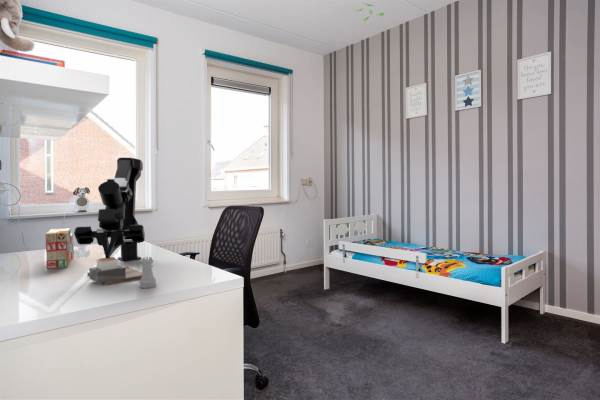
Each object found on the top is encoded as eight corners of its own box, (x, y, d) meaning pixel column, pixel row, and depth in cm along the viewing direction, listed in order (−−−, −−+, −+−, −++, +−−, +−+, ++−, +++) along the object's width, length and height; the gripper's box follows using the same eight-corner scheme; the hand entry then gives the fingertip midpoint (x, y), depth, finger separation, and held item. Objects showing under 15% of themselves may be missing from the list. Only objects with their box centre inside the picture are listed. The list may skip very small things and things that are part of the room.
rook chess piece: (145, 289, 103) (144, 260, 103) (135, 287, 106) (134, 258, 105) (159, 285, 107) (159, 257, 106) (150, 283, 109) (149, 255, 109)
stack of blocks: (55, 258, 147) (54, 226, 147) (74, 256, 150) (73, 225, 149) (46, 269, 128) (45, 233, 127) (68, 267, 131) (67, 231, 130)
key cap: (96, 274, 111) (96, 258, 111) (112, 271, 114) (112, 256, 114) (102, 276, 108) (101, 260, 108) (118, 273, 111) (117, 258, 111)
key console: (81, 276, 117) (80, 263, 117) (127, 269, 127) (126, 257, 127) (98, 286, 106) (98, 272, 106) (147, 277, 116) (147, 264, 115)
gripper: (74, 199, 113) (63, 242, 103) (142, 198, 118) (138, 239, 108) (83, 223, 121) (73, 265, 111) (146, 221, 126) (142, 261, 116)
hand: (107, 257), depth 111 cm, fingers closed
